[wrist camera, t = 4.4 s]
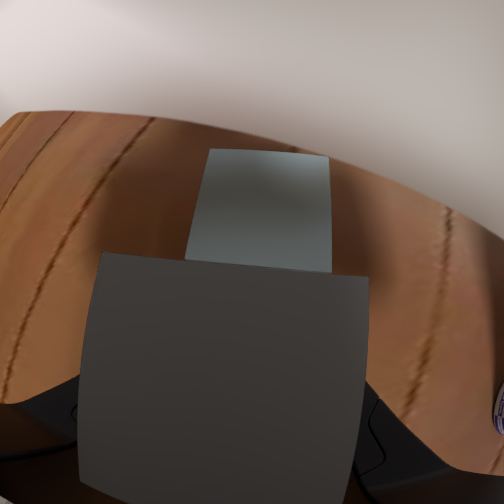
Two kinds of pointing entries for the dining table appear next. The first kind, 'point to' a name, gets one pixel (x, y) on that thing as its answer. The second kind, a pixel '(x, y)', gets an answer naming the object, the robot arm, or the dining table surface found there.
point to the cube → (263, 211)
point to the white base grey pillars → (221, 382)
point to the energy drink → (499, 411)
